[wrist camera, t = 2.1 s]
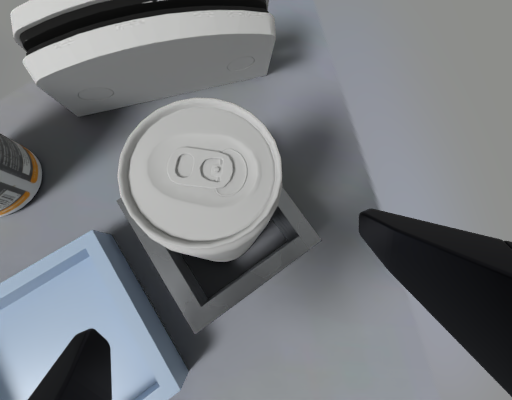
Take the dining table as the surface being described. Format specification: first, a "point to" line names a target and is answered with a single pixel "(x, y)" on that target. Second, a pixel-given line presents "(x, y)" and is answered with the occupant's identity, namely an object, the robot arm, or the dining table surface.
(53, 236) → the dining table surface
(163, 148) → the beverage can
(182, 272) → the short square tube
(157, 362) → the tray
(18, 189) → the pill bottle
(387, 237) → the robot arm
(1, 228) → the dining table surface
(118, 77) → the white black arched block
